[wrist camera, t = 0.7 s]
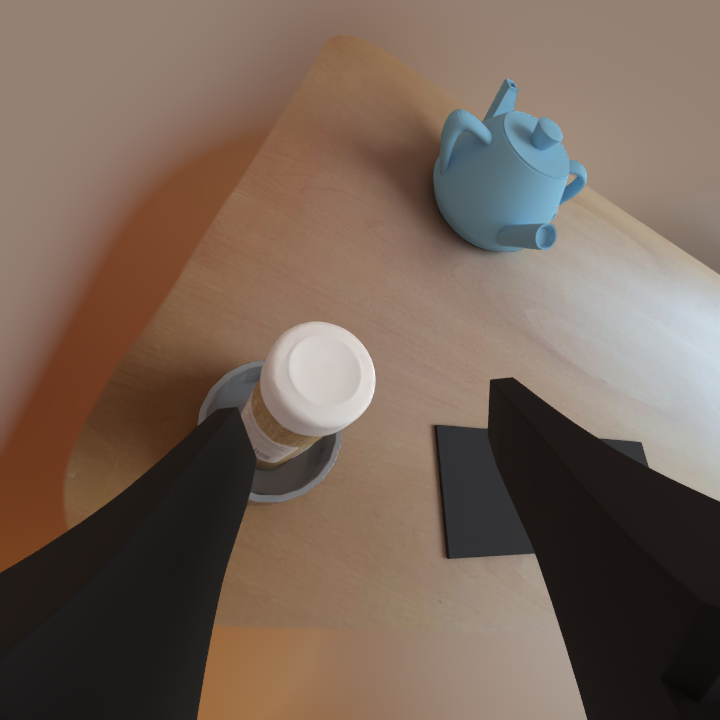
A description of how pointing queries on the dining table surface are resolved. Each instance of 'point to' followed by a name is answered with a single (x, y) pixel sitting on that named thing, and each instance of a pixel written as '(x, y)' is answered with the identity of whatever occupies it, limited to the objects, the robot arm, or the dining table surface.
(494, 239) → the teapot
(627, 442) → the mat
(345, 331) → the sprinkles bottle
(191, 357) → the dining table surface
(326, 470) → the basin
